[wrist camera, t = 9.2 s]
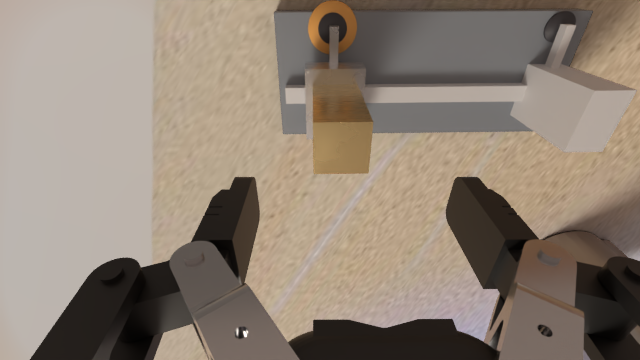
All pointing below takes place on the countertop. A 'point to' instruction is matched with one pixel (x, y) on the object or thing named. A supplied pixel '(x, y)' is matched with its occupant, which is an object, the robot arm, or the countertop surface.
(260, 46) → the countertop surface
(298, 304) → the countertop surface
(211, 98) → the countertop surface
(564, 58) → the bolt plate
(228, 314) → the robot arm
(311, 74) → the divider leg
